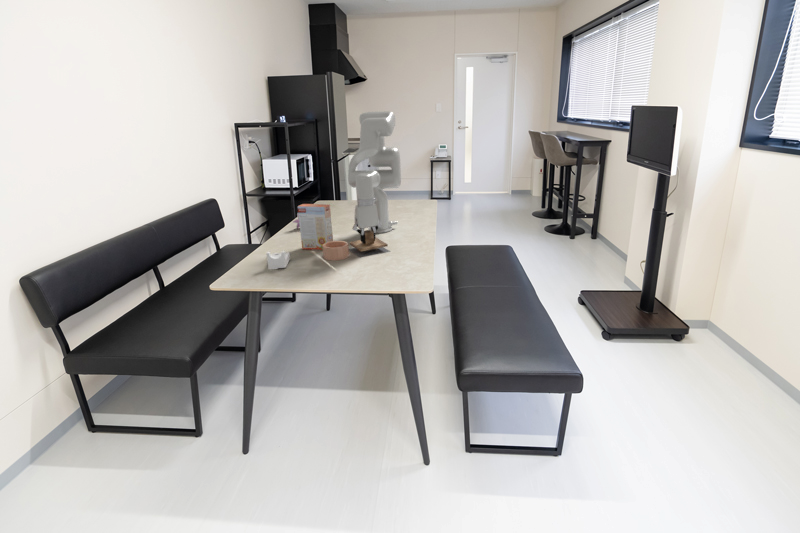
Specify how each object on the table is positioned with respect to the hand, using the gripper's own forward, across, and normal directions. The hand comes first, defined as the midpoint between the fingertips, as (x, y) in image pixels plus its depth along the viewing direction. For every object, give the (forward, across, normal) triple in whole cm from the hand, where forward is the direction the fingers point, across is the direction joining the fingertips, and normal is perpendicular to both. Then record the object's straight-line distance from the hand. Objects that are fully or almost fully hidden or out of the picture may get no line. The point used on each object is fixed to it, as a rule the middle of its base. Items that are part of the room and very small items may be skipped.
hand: (368, 241), depth 212 cm
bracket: (+5, +40, -4) cm, 40 cm away
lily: (+6, +12, -58) cm, 60 cm away
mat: (+5, 0, 0) cm, 5 cm away
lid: (+2, 0, 0) cm, 2 cm away
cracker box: (+5, +18, -18) cm, 26 cm away
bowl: (+4, +16, 0) cm, 16 cm away
